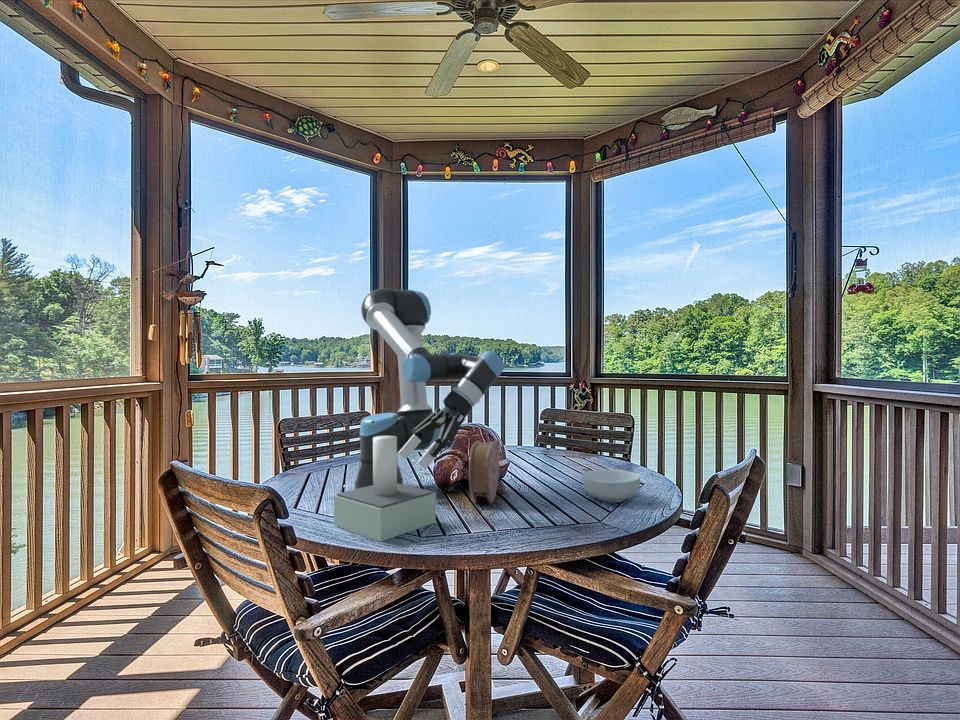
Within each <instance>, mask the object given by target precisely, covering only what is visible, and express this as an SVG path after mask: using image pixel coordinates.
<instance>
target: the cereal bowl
mask: <svg viewBox="0 0 960 720" xmlns="http://www.w3.org/2000/svg"><path fill="white" fill-rule="evenodd" d="M581 478H582V481H581V482H582V486H583V488H584V490H585V491H586V493H587V494H589V495H590V496H591V497H594V498H596V499H598V500H599V501H601V502H604V501H606V503H620V502H621V501H622V502H624V501H626V500H627V499H630V498H632V497H633V496H635V495H636V494H637V492H638V491H639V490H640V486H641V476H640V475H639V474H638V473H635V472H633V471H627V470H622V469H620V470H619V469H606V468H605V469H593V470H588V471H585V472H583V473H582V476H581Z"/></svg>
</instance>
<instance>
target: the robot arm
mask: <svg viewBox="0 0 960 720" xmlns="http://www.w3.org/2000/svg"><path fill="white" fill-rule="evenodd" d="M431 315H432V307H431V303H430V300H429V298H428V296H427V295H425V293H424V292H422V291H419V290H413V289H400V288H399V289H395V288H388V287H387V288H384V287H382V288H377V289H374V290H372V291H370V292H369V293H368V294H367V295H366V296H365V297H364V299H363V301H362V304H361V316H362V319H363V320H364V322H365V323H366V324H367V326H368V327H369V328H370V329H372V330H375V331H376V332H377V333H378V334H379V335H380V336H381V337H382V339H384V341H385V342H386V344H387V345H388V346H389V347H390V348H391V349H392V350H393V352H394V353H395V354H396V356H397V367H398V377H399V378H398V379H399V390H400V391H399V393H400V402H401V403H400V404H401V405H400V407H399V408H398V410H397V411H396V412H397V413H395V412H384V413H376V414H372V415H368V416H365V417H364V418H362V420H360V421H361V422H360V427H359V444H360V445H359V453H360V454H359V455H360V459H359V461H360V465H359V468H358V471H357V475H356V479H355V481H354V490H355V489H359V488H363V487H367V486H371V485H373V437H376V436H396V437H397V457H398V454H399V455H400V456H401V457H402V458H403V459H404V460H407V459H408V458H409V457H410V455H411V454H412V453H413V452H415V451H416V452H417V451H425V450H426V451H425V452H424V453H423V455H421V457H420V458H419V460H418V461H417V463H418V465H420V466H421V467H423V468H424V469H425V470H427V469H428V467H429V466H430V465H431V464H432V462H433V461H434V460H435V459H436V458H437V457H438V455H439V454H440V453H441V451H442V450H443V449H446V448H448V449H449V448H450V447H451V446H452V445H453V442H454V440H455V438H456V436H457V434H458V432H459V430H460V427H461V426H462V424H463V422H464V421H466V417H467V416H468V415H469V414H470V413H471V412H472V410H473V407H475V406H476V405H477V404H478V403H480V402H481V401H480V400H481V399H482V398H483V396H484V395H485V394H486V393H487V391H488V390H489V389H490V388H491V386H492V385H494V384H495V382H496V381H497V380H498V379H499V378H500V375H501V374H502V373H503V371H504V370H505V367H506V366H505V365H506V364H505V362H504V361H503V359H502V358H501V357H500V356H499V355H498V354H497V353H495V352H494V351H491V350H486V351H483V353H482V354H480V355H479V357H478V356H473V355H469V354H465V353H463V352H451V353H449V354H432V353H431V352H430V351H429V350H428V349H427V348H426V347H425V346H424V344H423V338H422V336H423V335H422V333H423V332H424V330H425V329H426V325H427V324H428V323H429V322H430V320H431V317H430V316H431ZM450 381H451V382H452V381H453V382H454V381H458V382H457V383H456V384H455V385H454V387H452V391H450V392H449V393H448V394H447V395H446V396H445V397H444V399H443V404H444V407H443V408H442V409H440V407H437V408H435V410H433V407H432V406H430V404H429V403H428V399H427V388H426V387H427V385H426V383H430V382H450ZM398 461H399V460H398V458H397V483H399V484H403V485H404V479H403V476H402V472H401V469H400V466H399V463H398Z"/></svg>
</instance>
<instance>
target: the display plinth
mask: <svg viewBox="0 0 960 720" xmlns="http://www.w3.org/2000/svg"><path fill="white" fill-rule="evenodd" d="M436 494H437V493H435V492H434V491H433V490H428V489H424V488H419V487H415V486H411V485H406V484H404V483H403V484H399V483H397V493H396V494H393V495H388V496H379V495H374V494H373V485H371V486H367V487H363V488H359V489H355V488H354V489H351V490H347V491H343V492H337V493H336V495H333V526H334V525H337V526H339V527H338V528H340V527H341V528H340V529H342V528H344V529H343V530H345V529H347V530H346V531H348V530H349V531H348V532H351V533H354V534H358V535H360V536H363V537H366V538H369V539H371V540H375V541H378V542H384V541H386V540H390V539H392V538H395V537H398V535H399V536H401V535H404V534H406V533H407V534H408V533H411V532H413V531H416V530H418V529H422V528H424V527H428V526H430V525H433V524H435V523H437V522H436V519H437V518H436V517H437V514H436V510H437V509H436V506H437V505H436V503H437V502H436V501H437V500H436V497H437V495H436ZM337 526H336V527H337Z"/></svg>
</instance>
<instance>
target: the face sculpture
mask: <svg viewBox="0 0 960 720" xmlns="http://www.w3.org/2000/svg"><path fill="white" fill-rule="evenodd" d="M499 447H500V439H498V438H497V439H494V440H493V441H490V442H485V441H484V442H482V441H481V440H477V441H475V442H473V444H472V446H471V449H470V453H469V458H468V459H469V461H468V484H469V490H470V491H469V492H470V494H471V499H472V501H473V502H474V503H475V504H477V503H479V502H480V501H481V500H482V498H487V501H488V504H492V503H494V501H495V498H496V496H497V489H498V485H499V480H500V479H499V478H500V476H501V471H500V462H499V459H500V458H499Z"/></svg>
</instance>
